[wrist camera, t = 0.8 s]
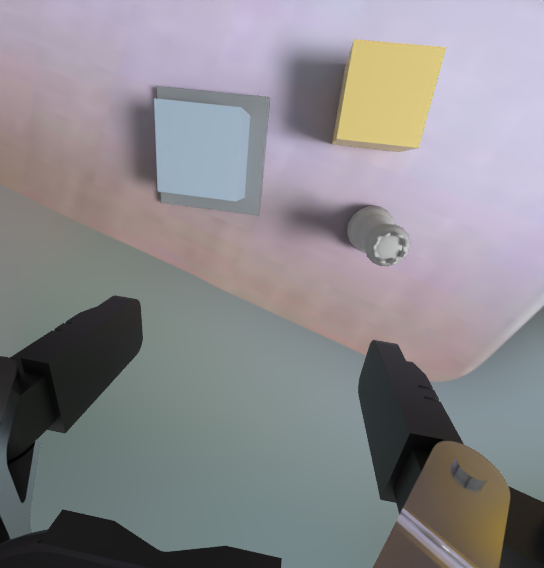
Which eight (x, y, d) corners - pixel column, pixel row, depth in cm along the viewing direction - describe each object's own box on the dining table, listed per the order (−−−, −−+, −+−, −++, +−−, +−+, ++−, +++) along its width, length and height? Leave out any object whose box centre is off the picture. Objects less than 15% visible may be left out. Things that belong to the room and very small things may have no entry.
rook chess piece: (336, 233, 29) (346, 255, 21) (367, 195, 27) (388, 204, 20) (371, 259, 29) (392, 288, 22) (403, 223, 28) (437, 242, 20)
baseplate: (161, 88, 26) (134, 73, 22) (270, 99, 25) (262, 86, 21) (164, 202, 30) (142, 206, 26) (259, 214, 29) (251, 221, 25)
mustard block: (345, 64, 24) (353, 39, 19) (419, 71, 23) (446, 47, 19) (331, 144, 26) (336, 138, 21) (398, 152, 26) (418, 148, 21)
